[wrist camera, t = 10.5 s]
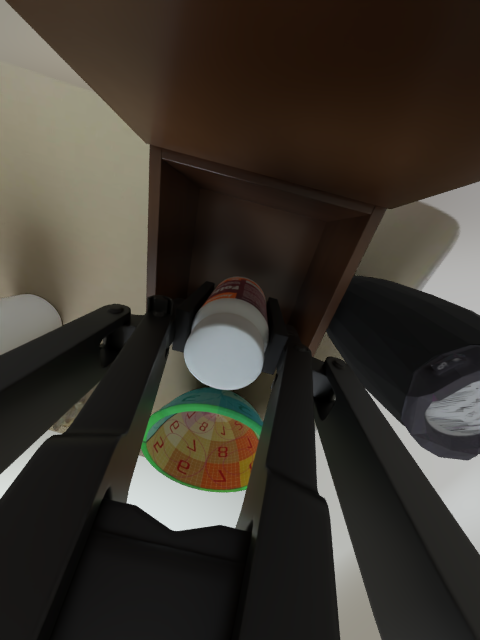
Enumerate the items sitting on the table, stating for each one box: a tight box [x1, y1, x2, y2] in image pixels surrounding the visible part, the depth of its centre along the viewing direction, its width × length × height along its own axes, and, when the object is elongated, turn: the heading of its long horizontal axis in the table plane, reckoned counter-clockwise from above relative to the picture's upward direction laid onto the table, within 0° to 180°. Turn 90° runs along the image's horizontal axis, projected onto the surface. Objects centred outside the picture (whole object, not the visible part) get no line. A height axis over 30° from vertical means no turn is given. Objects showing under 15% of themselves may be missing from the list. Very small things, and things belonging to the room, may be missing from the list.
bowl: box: [141, 387, 263, 492], centre depth 35 cm, size 22×22×10 cm
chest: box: [146, 145, 387, 370], centre depth 22 cm, size 17×18×11 cm
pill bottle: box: [184, 277, 269, 390], centre depth 13 cm, size 5×5×8 cm
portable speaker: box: [326, 276, 480, 460], centre depth 19 cm, size 9×9×20 cm
